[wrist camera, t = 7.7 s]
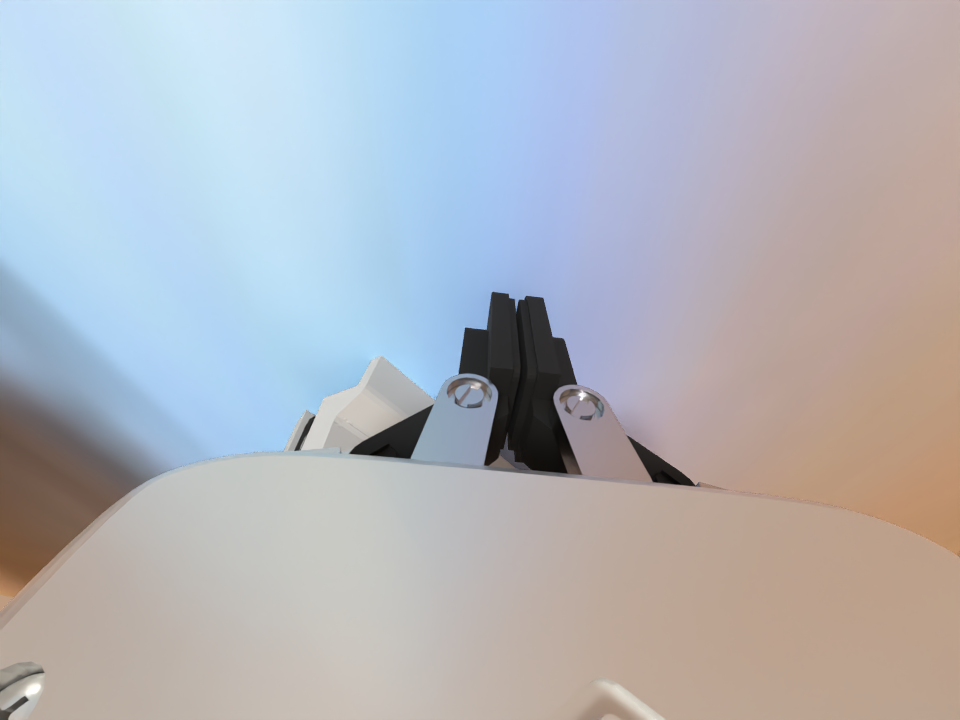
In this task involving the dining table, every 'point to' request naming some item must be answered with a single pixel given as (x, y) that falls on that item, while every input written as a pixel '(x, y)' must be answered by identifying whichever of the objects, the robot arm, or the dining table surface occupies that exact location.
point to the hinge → (363, 411)
